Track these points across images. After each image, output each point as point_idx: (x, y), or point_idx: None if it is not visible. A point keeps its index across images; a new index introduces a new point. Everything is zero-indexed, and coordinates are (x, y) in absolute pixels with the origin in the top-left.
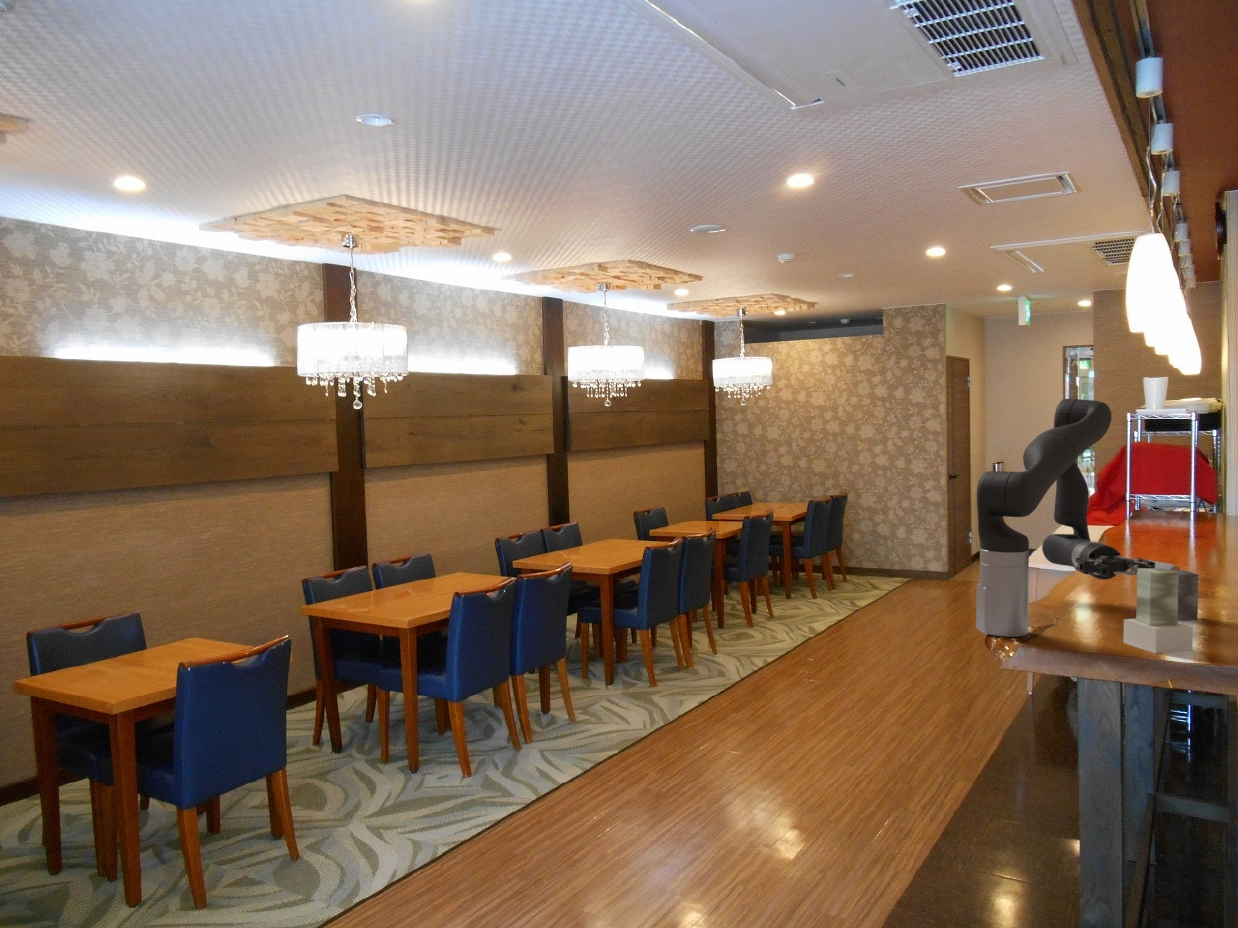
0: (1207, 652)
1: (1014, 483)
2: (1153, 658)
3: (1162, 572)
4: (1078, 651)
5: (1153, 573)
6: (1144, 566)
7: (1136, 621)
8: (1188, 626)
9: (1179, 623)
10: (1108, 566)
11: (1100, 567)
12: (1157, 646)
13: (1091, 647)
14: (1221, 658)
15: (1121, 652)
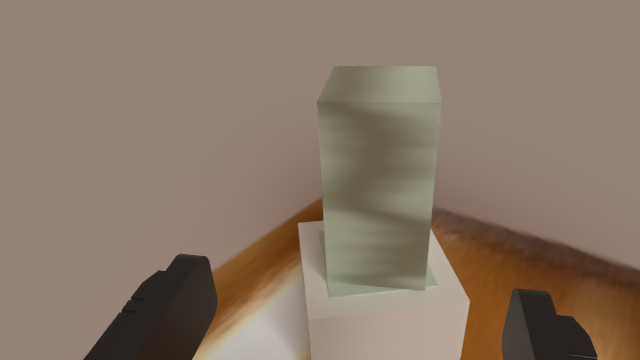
0: (278, 263)
1: None
2: (445, 236)
3: (387, 68)
4: (634, 291)
5: (424, 69)
6: (165, 329)
7: (436, 273)
8: (311, 222)
9: (309, 247)
10: (520, 292)
11: (584, 339)
12: None
13: (588, 322)
14: (289, 229)
15: (507, 276)
